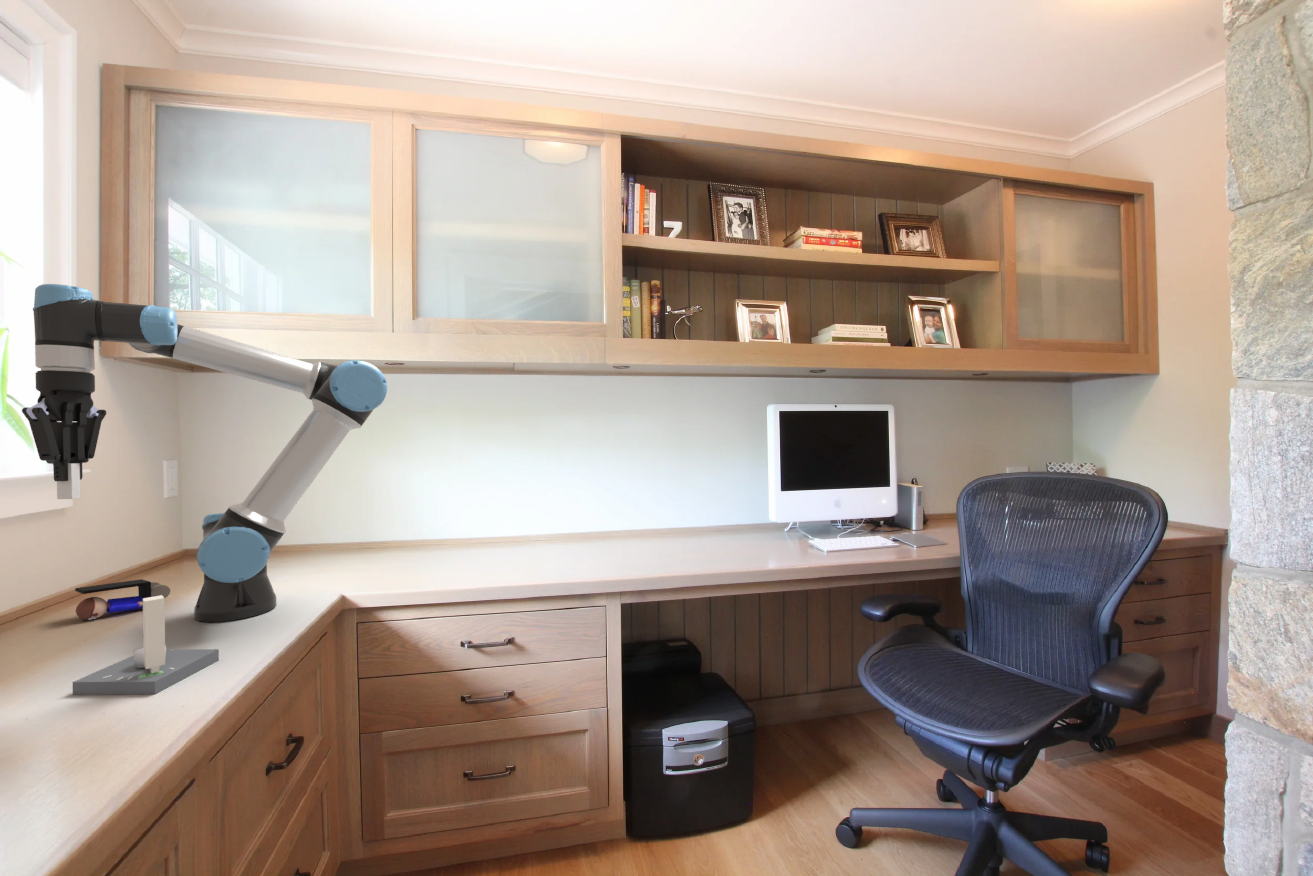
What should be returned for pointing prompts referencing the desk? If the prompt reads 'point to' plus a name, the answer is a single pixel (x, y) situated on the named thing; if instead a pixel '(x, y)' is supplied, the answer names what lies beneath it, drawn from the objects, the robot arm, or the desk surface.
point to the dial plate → (145, 674)
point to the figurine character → (99, 606)
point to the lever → (152, 635)
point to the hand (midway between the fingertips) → (68, 498)
